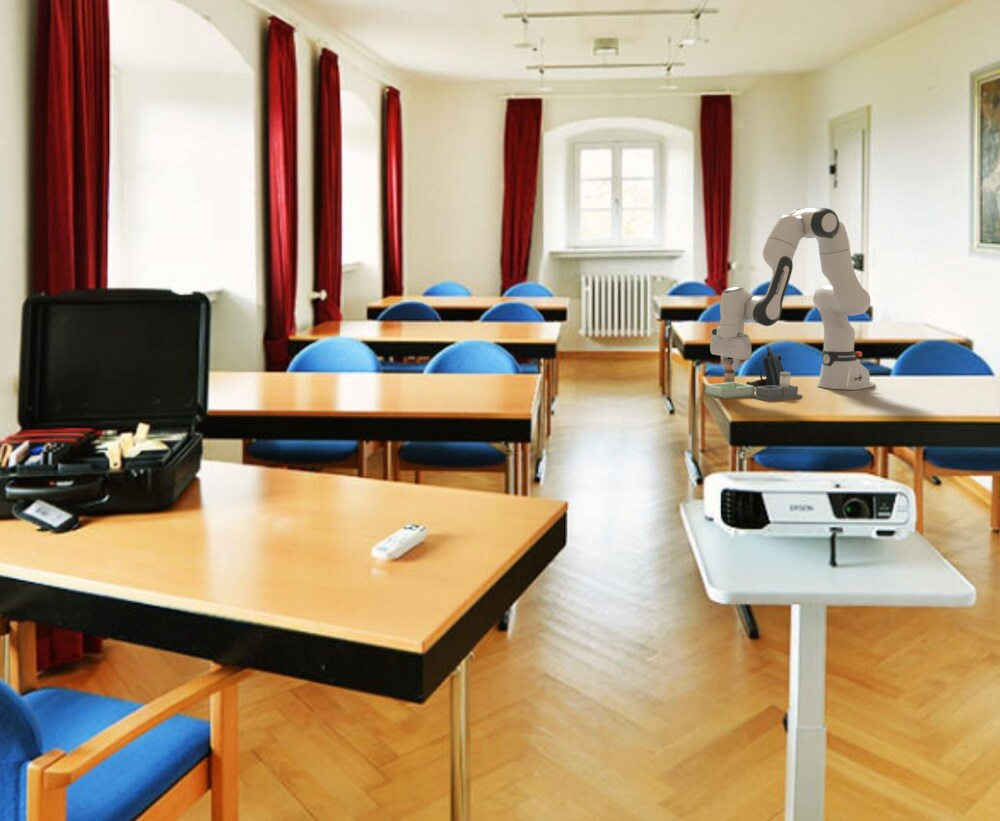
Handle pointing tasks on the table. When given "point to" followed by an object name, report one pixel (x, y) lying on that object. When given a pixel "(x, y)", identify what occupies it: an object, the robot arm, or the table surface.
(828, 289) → the robot arm
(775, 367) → the gun
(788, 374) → the ball
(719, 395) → the tray
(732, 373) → the fuse
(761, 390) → the block
